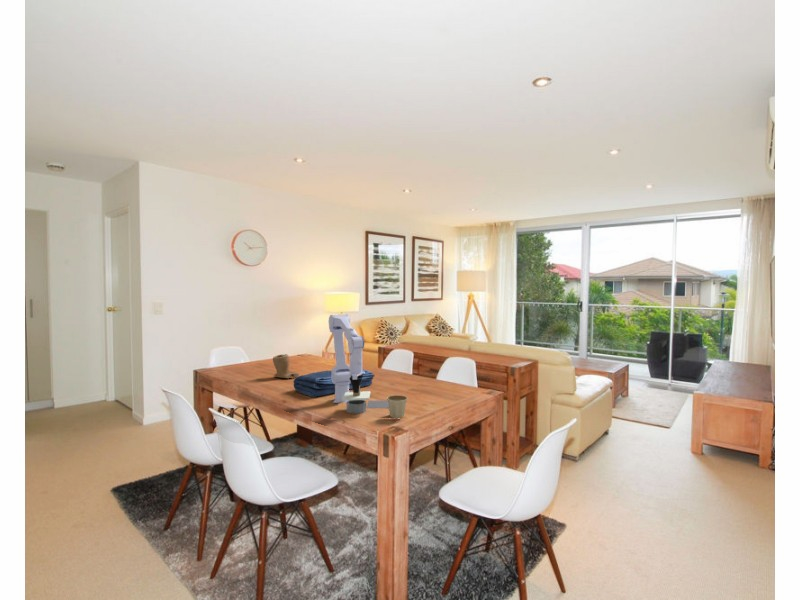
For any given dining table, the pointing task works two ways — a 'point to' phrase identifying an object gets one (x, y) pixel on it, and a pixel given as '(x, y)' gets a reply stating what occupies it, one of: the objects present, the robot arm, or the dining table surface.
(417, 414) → the dining table surface
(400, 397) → the flower pot
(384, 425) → the dining table surface
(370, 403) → the mat
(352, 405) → the bowl
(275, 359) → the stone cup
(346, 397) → the lid
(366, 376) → the towel
